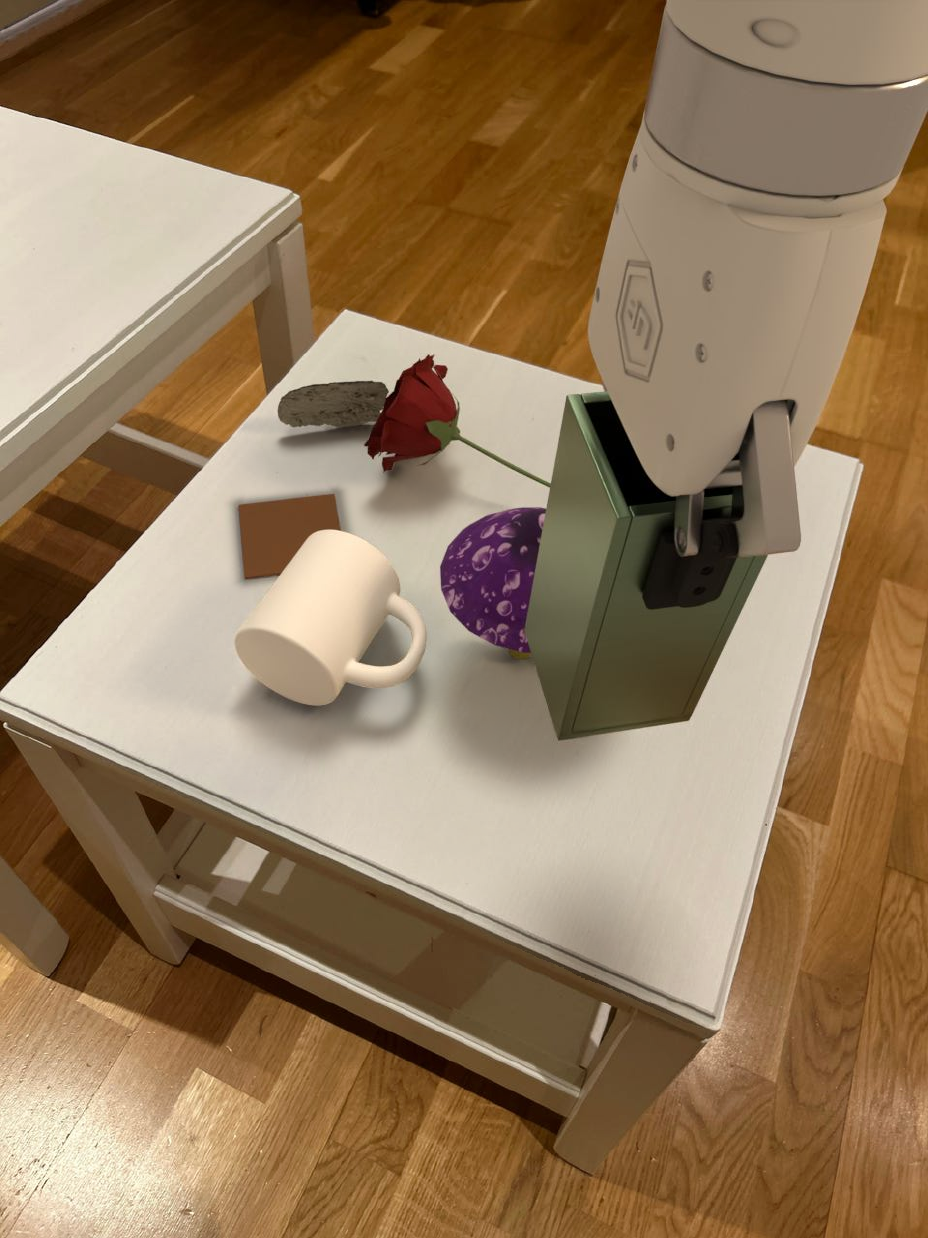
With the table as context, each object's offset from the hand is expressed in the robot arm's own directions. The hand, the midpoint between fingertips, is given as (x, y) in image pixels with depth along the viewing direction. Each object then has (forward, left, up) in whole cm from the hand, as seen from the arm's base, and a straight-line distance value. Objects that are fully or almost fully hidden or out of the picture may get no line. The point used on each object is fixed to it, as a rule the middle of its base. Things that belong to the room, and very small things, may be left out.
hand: (649, 528), depth 40 cm
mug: (-13, +15, -28) cm, 34 cm away
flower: (+6, +27, -28) cm, 39 cm away
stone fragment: (-11, +40, -28) cm, 50 cm away
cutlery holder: (0, 0, -11) cm, 11 cm away
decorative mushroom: (0, +13, -28) cm, 31 cm away
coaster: (-16, +28, -28) cm, 42 cm away
